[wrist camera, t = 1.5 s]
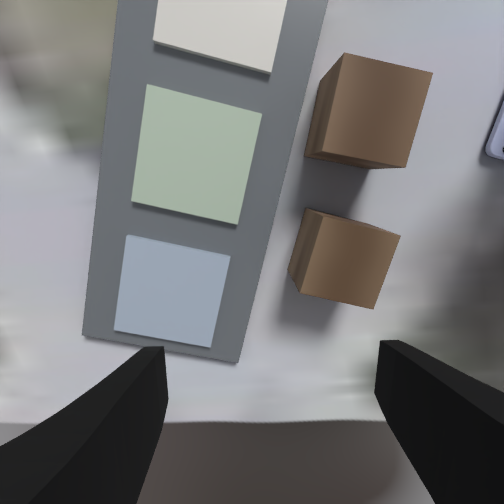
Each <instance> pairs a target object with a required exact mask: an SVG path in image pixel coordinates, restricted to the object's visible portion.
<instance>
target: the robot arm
mask: <svg viewBox="0 0 504 504" xmlns="http://www.w3.org/2000/svg"><path fill="white" fill-rule="evenodd" d="M503 147H504V101H503V104H502V106H501V109H500V112H499V114H498V117H497V119H496V122H495V124H494V127H493V129H492V132H491V135H490V137H489V140H488V142H487V145H486V153H487V155H489V156H491V157H494V158H498V159H502V160H504V153H503V151H502V149H503ZM374 393H375V396H376V398H377V400H378V403H379V405H380V408H381V410H382V412H383V414H384V416H385V419H386V421H387V423H388V425H389V426H390V428H391V430H392V431H393V433H394V435H395V437H396V438H397V440H398V442H399V443H400V445H401V447H402V449H403V450H404V452H405V454H406V455H407V457H408V459H409V460H410V462H411V464H412V465H413V467H414V468H415V470H416V471H417V474H418V475H419V477H420V479H421V480H422V482H423V484H424V485H425V487H426V489H427V490H428V492H429V494H430V495H431V497H432V499H433V501H434V502H435V504H504V393H503V392H501V391H499V390H497V389H495V388H493V387H491V386H489V385H487V384H484V383H482V382H480V381H478V380H476V379H474V378H472V377H470V376H468V375H466V374H464V373H462V372H460V371H458V370H457V369H455V368H453V367H451V366H449V365H447V364H445V363H443V362H441V361H439V360H438V359H436V358H434V357H432V356H430V355H428V354H426V353H424V352H422V351H420V350H418V349H416V348H415V347H413V346H410V345H408V344H406V343H404V342H402V341H399V340H380V346H379V355H378V364H377V373H376V382H375V391H374ZM167 404H168V388H167V376H166V365H165V353H164V346H145V347H144V348H142V349H141V350H140V351H138V352H137V353H136V354H134V355H133V356H132V357H131V358H130V359H128V360H127V361H126V362H125V363H123V364H122V365H121V366H120V367H118V368H117V369H116V370H115V371H113V372H112V373H111V374H110V375H108V376H107V377H106V378H104V379H103V380H102V381H101V382H99V383H98V384H97V385H95V386H94V387H92V388H91V389H90V390H88V391H87V392H86V393H84V394H83V395H81V396H80V397H79V398H77V399H76V400H75V401H73V402H72V403H70V404H69V405H68V406H66V407H65V408H63V409H62V410H60V411H59V412H57V413H56V414H54V415H53V416H51V417H49V418H48V419H46V420H45V421H43V422H41V423H40V424H38V425H37V426H35V427H33V428H32V429H30V430H28V431H27V432H25V433H23V434H22V435H20V436H18V437H16V438H15V439H13V440H11V441H9V442H7V443H5V444H4V445H2V446H0V504H136V503H137V500H138V497H139V494H140V492H141V489H142V486H143V483H144V480H145V477H146V474H147V472H148V469H149V466H150V463H151V460H152V457H153V454H154V451H155V448H156V446H157V443H158V440H159V437H160V433H161V431H162V426H163V422H164V418H165V413H166V409H167Z"/></svg>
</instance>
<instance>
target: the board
mask: <svg viewBox="0 0 504 504" xmlns="http://www.w3.org/2000/svg"><path fill="white" fill-rule="evenodd" d="M327 3H328V0H118V6H117V15H116V24H115V33H114V42H113V52H112V61H111V70H110V79H109V89H108V98H107V107H106V116H105V126H104V135H103V144H102V153H101V162H100V172H99V181H98V190H97V199H96V209H95V218H94V227H93V236H92V246H91V255H90V264H89V273H88V282H87V292H86V301H85V310H84V319H83V329H82V335H84V336H89V337H95V338H100V339H106V340H112V341H117V342H123V343H129V344H134V345H140V346H164V350H168V351H173V352H179V353H185V354H190V355H196V356H202V357H207V358H213V359H218V360H224V361H230V362H235V363H238V362H239V358H240V354H241V350H242V346H243V342H244V338H245V334H246V329H247V325H248V321H249V317H250V313H251V309H252V305H253V301H254V297H255V293H256V289H257V285H258V281H259V277H260V273H261V269H262V265H263V261H264V257H265V253H266V249H267V245H268V241H269V237H270V233H271V229H272V225H273V221H274V217H275V213H276V209H277V205H278V201H279V197H280V193H281V189H282V185H283V181H284V177H285V172H286V168H287V164H288V160H289V156H290V152H291V148H292V144H293V140H294V136H295V132H296V128H297V124H298V120H299V116H300V112H301V108H302V104H303V100H304V96H305V92H306V88H307V84H308V80H309V76H310V72H311V68H312V64H313V60H314V56H315V52H316V48H317V44H318V40H319V36H320V32H321V28H322V24H323V20H324V15H325V11H326V7H327Z"/></svg>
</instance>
